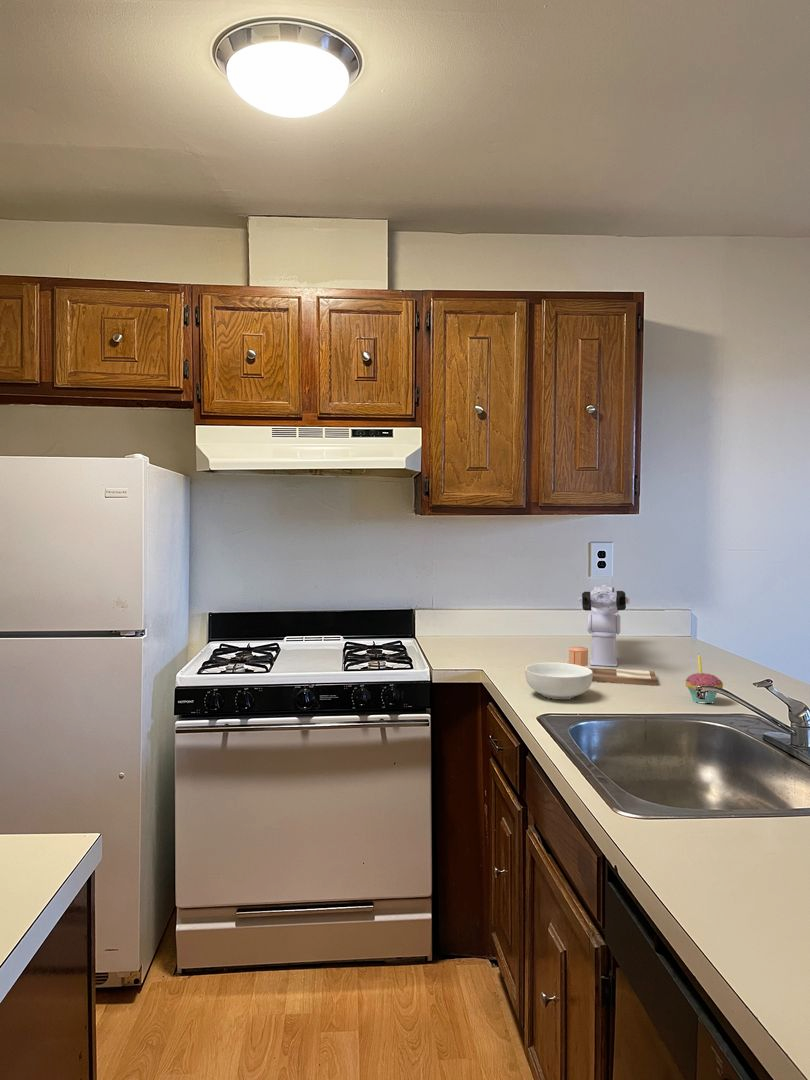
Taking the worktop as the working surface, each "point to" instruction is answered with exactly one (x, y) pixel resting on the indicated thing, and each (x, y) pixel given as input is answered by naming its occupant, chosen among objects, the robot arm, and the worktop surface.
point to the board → (624, 676)
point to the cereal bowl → (558, 679)
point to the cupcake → (703, 684)
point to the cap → (578, 656)
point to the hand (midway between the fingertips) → (603, 603)
